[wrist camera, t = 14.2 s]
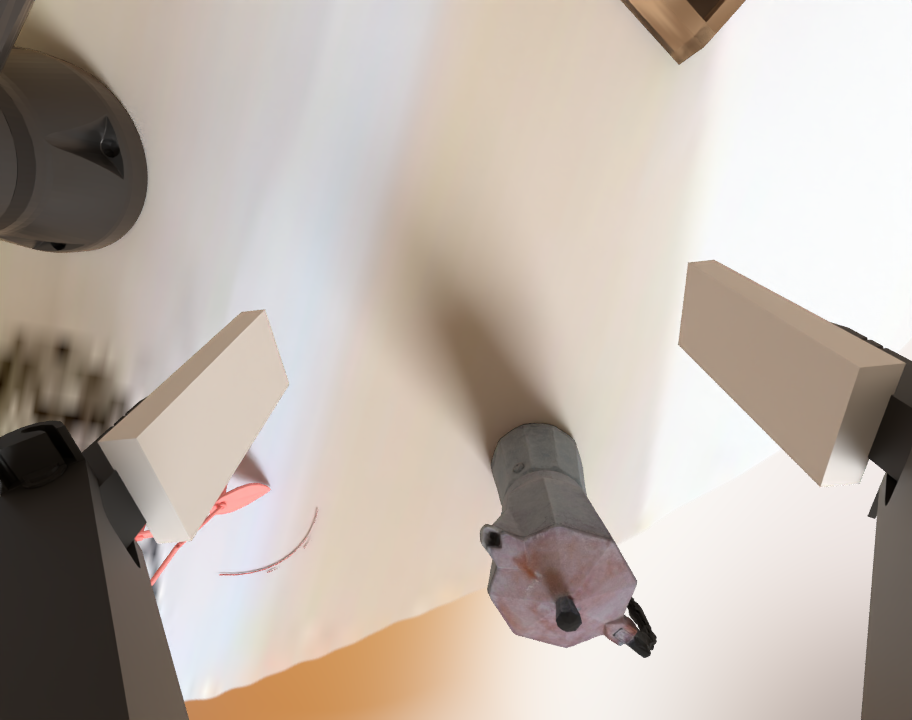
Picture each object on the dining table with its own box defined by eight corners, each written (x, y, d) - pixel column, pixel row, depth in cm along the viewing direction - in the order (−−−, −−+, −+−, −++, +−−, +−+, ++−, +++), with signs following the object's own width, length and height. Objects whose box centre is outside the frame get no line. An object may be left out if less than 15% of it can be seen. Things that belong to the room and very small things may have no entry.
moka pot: (503, 385, 44) (529, 517, 25) (630, 465, 46) (744, 643, 27) (449, 459, 46) (434, 630, 27) (571, 531, 49) (638, 737, 30)
